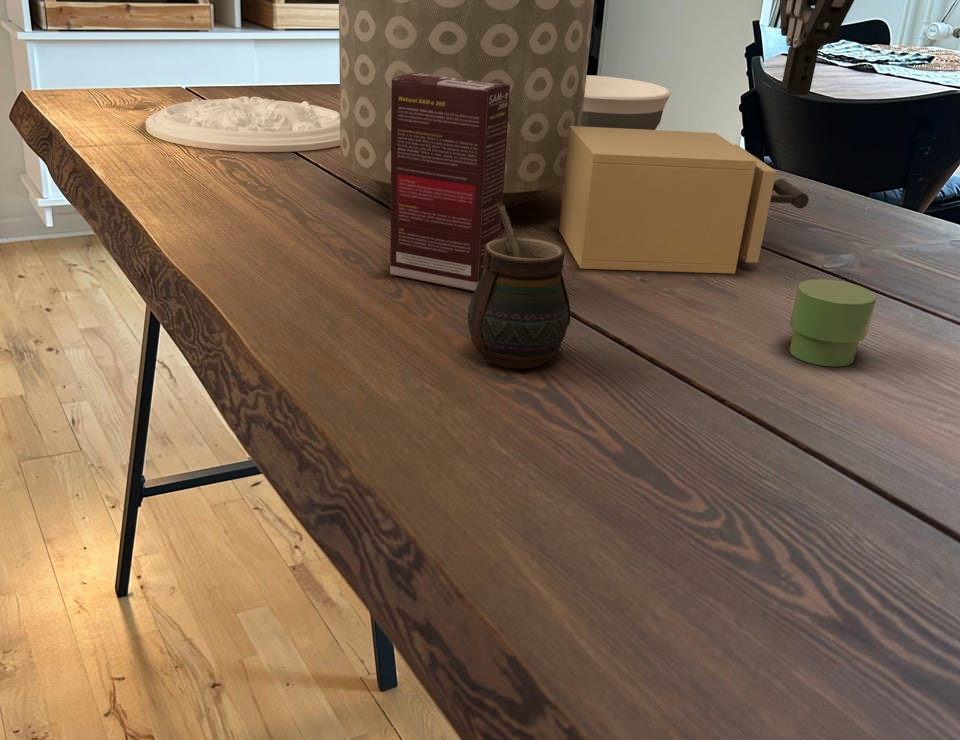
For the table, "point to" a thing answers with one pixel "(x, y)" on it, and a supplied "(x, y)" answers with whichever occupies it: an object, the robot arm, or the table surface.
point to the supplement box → (446, 176)
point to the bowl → (622, 103)
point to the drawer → (764, 206)
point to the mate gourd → (519, 301)
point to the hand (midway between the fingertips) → (794, 93)
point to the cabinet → (654, 200)
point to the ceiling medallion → (247, 125)
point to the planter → (467, 76)
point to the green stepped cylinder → (830, 321)
